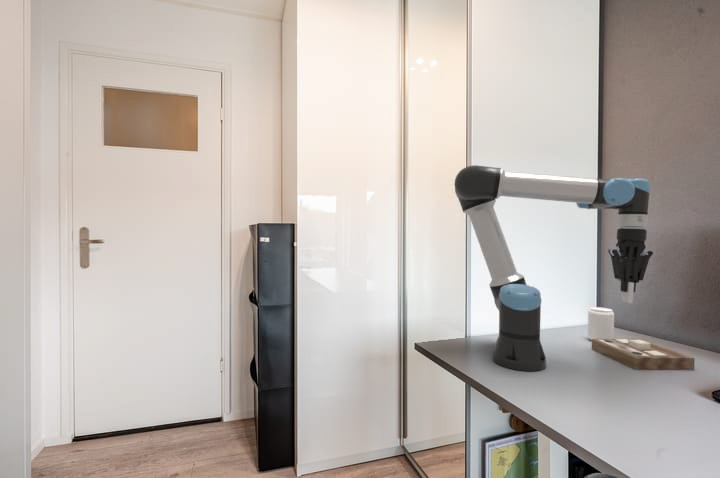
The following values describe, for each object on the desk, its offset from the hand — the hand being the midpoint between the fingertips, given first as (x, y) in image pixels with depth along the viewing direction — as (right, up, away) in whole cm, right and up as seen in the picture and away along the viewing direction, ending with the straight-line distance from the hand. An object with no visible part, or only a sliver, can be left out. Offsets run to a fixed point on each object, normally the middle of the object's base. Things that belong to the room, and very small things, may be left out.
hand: (627, 302), depth 115 cm
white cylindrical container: (+5, -18, +20) cm, 28 cm away
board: (+5, -18, +1) cm, 19 cm away
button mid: (+5, -16, +1) cm, 17 cm away
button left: (+5, -18, +7) cm, 20 cm away
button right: (+5, -18, -5) cm, 19 cm away
